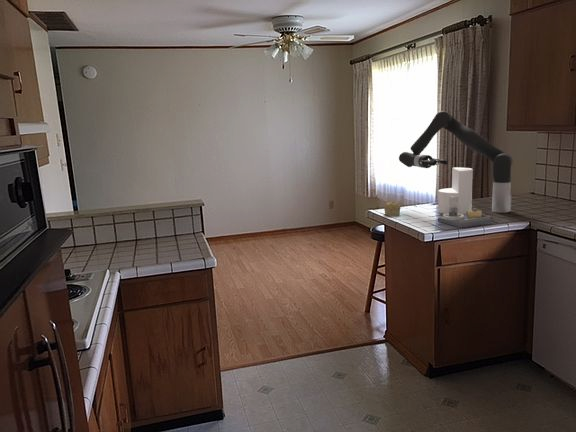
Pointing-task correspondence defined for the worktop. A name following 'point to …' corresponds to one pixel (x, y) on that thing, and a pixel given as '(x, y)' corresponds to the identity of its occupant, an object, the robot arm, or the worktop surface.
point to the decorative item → (392, 208)
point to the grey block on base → (453, 207)
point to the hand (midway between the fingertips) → (440, 163)
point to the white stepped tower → (457, 191)
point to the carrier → (467, 219)
